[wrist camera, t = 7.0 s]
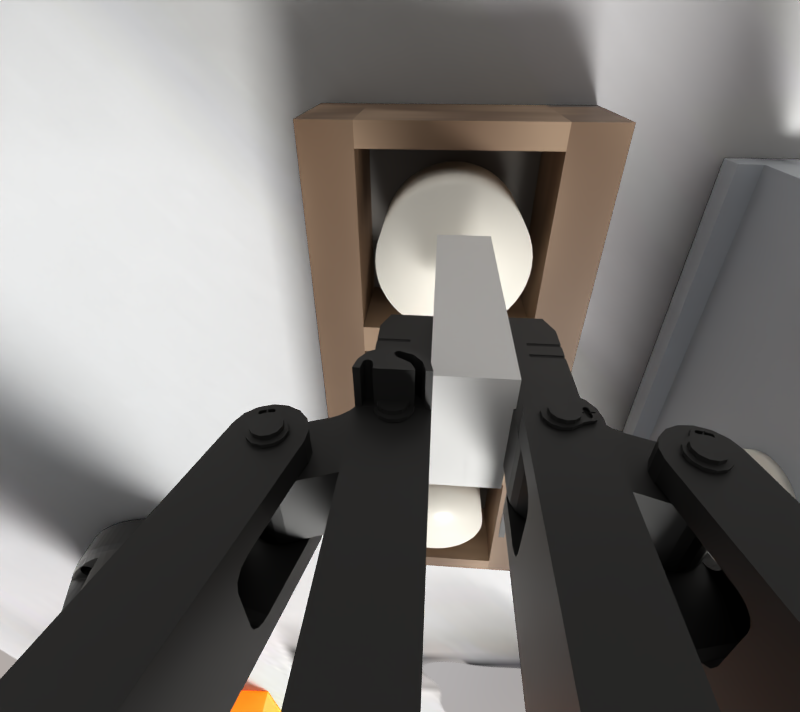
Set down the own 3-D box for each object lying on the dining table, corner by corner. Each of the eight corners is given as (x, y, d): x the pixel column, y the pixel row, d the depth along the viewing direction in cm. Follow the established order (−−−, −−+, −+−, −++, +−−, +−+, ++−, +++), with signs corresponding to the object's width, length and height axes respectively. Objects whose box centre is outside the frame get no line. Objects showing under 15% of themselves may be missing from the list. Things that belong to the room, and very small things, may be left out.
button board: (355, 502, 30) (345, 559, 27) (321, 103, 17) (293, 119, 14) (510, 512, 30) (519, 571, 26) (597, 105, 17) (636, 122, 13)
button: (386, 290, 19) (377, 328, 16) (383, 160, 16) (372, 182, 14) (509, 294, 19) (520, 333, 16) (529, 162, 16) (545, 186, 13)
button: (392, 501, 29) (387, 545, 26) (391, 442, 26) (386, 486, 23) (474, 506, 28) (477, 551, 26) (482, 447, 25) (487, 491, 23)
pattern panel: (597, 499, 28) (679, 745, 19) (724, 157, 17) (1098, 320, 7) (648, 502, 28) (758, 753, 18) (809, 159, 17) (1308, 328, 7)
